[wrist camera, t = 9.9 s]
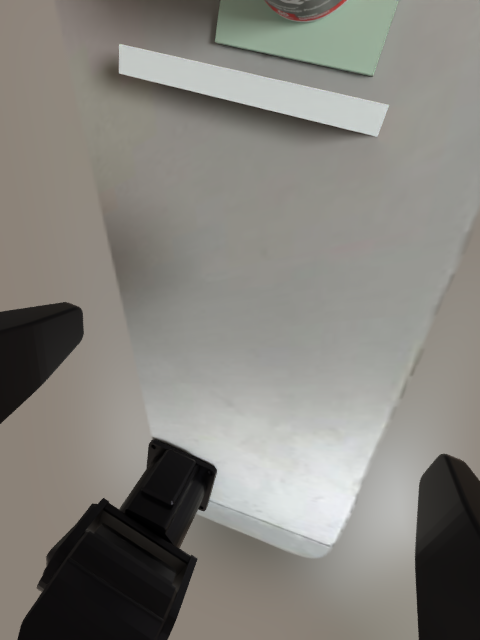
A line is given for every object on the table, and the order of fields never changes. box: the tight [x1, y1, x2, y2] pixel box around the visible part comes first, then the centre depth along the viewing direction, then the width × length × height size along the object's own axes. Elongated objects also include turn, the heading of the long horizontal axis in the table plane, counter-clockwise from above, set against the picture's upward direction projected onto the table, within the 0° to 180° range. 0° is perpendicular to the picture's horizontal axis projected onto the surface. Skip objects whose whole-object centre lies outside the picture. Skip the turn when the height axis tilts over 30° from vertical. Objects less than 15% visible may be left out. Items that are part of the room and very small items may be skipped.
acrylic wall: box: [119, 44, 389, 137], centre depth 14 cm, size 1×11×3 cm, turn 79°
